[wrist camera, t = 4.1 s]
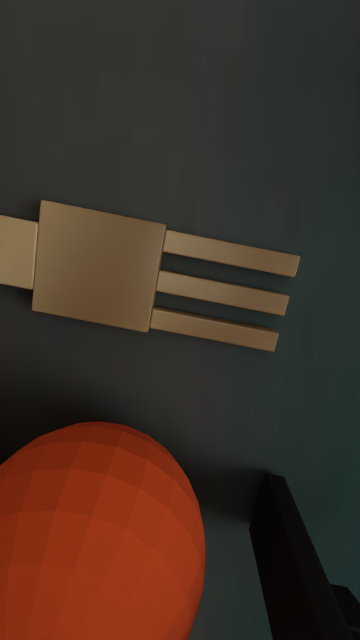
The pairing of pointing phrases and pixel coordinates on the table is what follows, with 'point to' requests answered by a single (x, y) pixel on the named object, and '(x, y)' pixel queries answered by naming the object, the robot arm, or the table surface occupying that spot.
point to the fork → (133, 273)
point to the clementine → (98, 538)
